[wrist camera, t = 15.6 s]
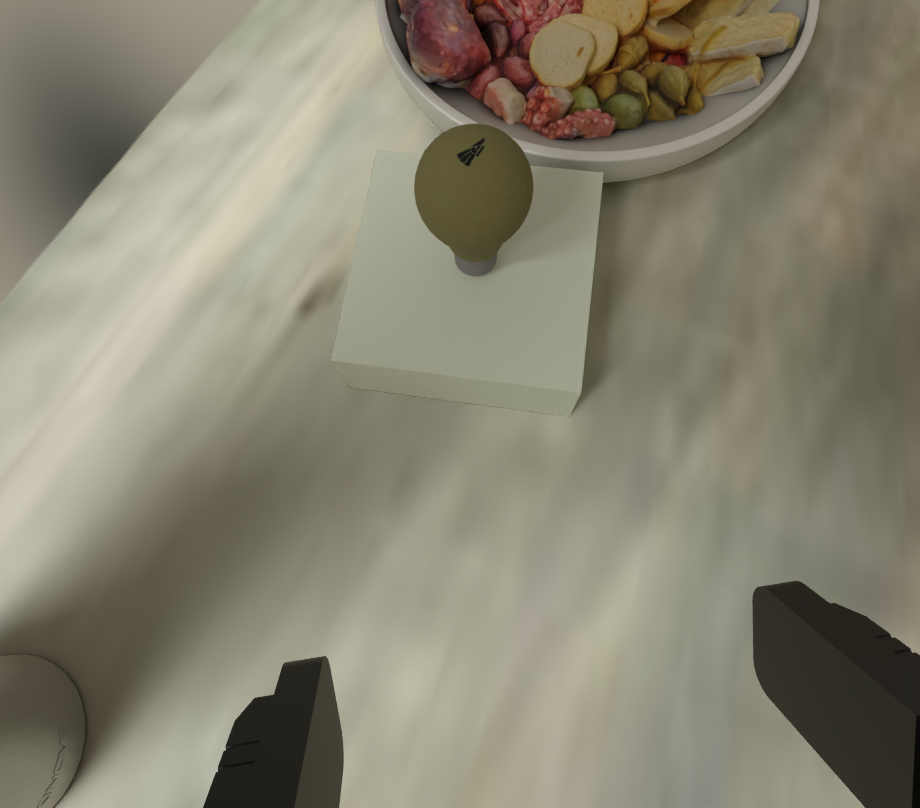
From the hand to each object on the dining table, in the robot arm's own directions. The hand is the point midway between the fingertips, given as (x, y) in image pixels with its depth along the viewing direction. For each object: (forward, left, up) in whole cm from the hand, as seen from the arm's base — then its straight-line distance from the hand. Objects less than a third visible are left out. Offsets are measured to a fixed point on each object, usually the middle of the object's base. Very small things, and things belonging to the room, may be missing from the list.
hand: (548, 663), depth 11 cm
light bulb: (-4, +19, -20) cm, 28 cm away
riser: (-5, +19, -25) cm, 32 cm away
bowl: (0, +42, -25) cm, 49 cm away
